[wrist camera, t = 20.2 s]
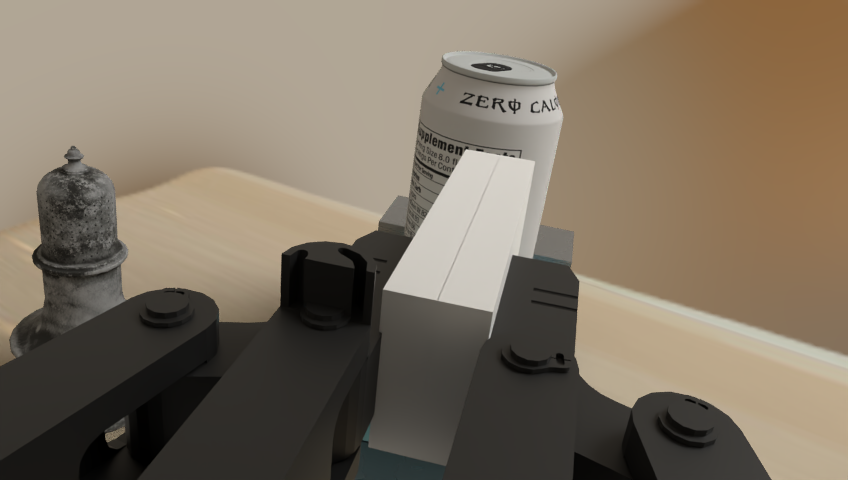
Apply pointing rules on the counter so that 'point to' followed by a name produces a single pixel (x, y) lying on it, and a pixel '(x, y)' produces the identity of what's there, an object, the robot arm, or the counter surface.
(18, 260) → the counter surface
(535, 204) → the energy drink can
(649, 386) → the counter surface
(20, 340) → the salt shaker
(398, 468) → the grey base stand
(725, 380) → the counter surface
